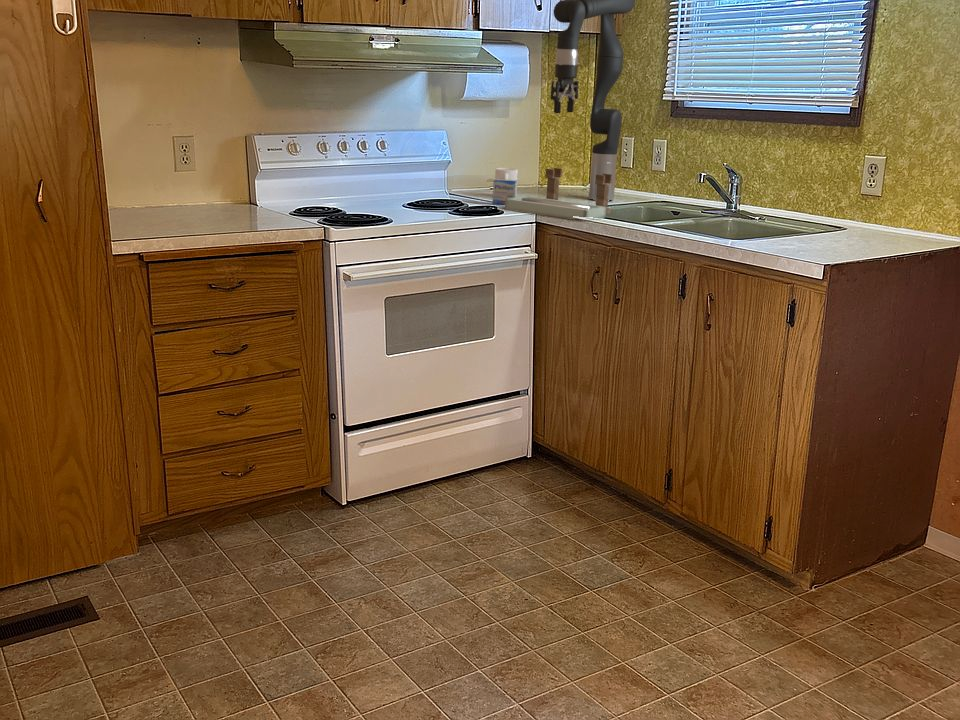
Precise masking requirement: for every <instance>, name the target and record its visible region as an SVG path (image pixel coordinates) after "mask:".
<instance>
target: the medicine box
mask: <svg viewBox="0 0 960 720" xmlns="http://www.w3.org/2000/svg"><path fill="white" fill-rule="evenodd" d="M516 184H517V185H518V179H517V180H504V179H495V178H494V179H493V184H492V185H493V187H492V188H493V189H492V190H493V191H492V202H491V203H492V204H491V205H493V206H505V199H508V198H515V197H517V194H516Z"/></svg>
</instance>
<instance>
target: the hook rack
mask: <svg viewBox="0 0 960 720" xmlns="http://www.w3.org/2000/svg"><path fill="white" fill-rule="evenodd" d="M544 177H545V179H547V182H546V195H545V196H546V199H553V200H559V190H560V189H559V187H560V178H563V168H560V167H553V169H552V168H546V169H545V176H544ZM607 183H609V184H611V183H612V174H603V175H596V180H595V184H597V194H596V200H595V205H596V206H604V207H606V215H607V214H608V215H609V214H611V211H612V210H611V208H610V207H609V206H608V204H609V201H608V195H609V184H607Z"/></svg>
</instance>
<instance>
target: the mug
mask: <svg viewBox="0 0 960 720" xmlns="http://www.w3.org/2000/svg"><path fill="white" fill-rule="evenodd" d="M518 171H519V170H518V169H517V168H512V167H496V168H495V174H494V175H495V176H494V179H504V180H517V181H518V177H519V176H518V174H519V172H518ZM517 189H518V183H517V184H516V195H517V194H518V192H517V191H518V190H517Z"/></svg>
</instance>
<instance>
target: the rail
mask: <svg viewBox="0 0 960 720" xmlns="http://www.w3.org/2000/svg"><path fill="white" fill-rule="evenodd" d="M521 201H527V202H534V203H541V204H549V205H556V206H563V207H570V208H577V209H584V210H587V209H591V207H589V206H582V205H575V204H567V203H560V202H553V201H546V200H539V199H531V198H522V200H521Z"/></svg>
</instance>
